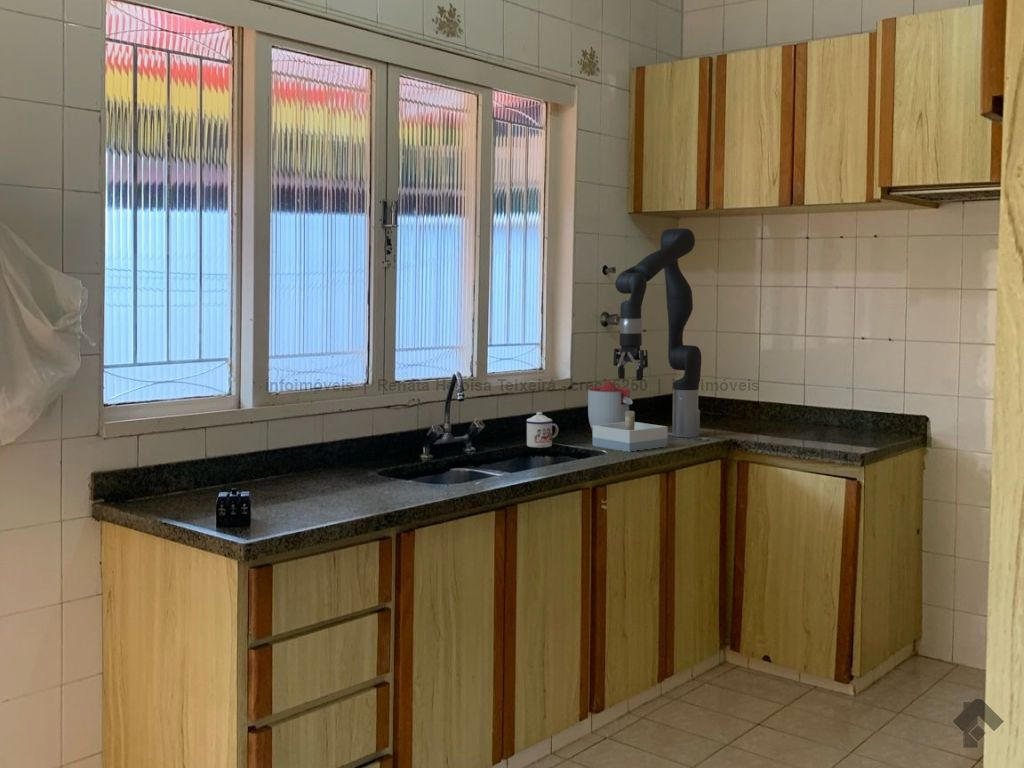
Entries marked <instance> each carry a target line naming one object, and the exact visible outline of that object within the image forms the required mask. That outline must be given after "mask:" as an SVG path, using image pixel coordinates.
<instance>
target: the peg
mask: <svg viewBox="0 0 1024 768" xmlns="http://www.w3.org/2000/svg"><path fill="white" fill-rule="evenodd" d="M635 414H636V413H635V411H634V410H629V411H625V430H634V426H635V422H636V421H635V420H636V419H635V418H636V416H635Z"/></svg>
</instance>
